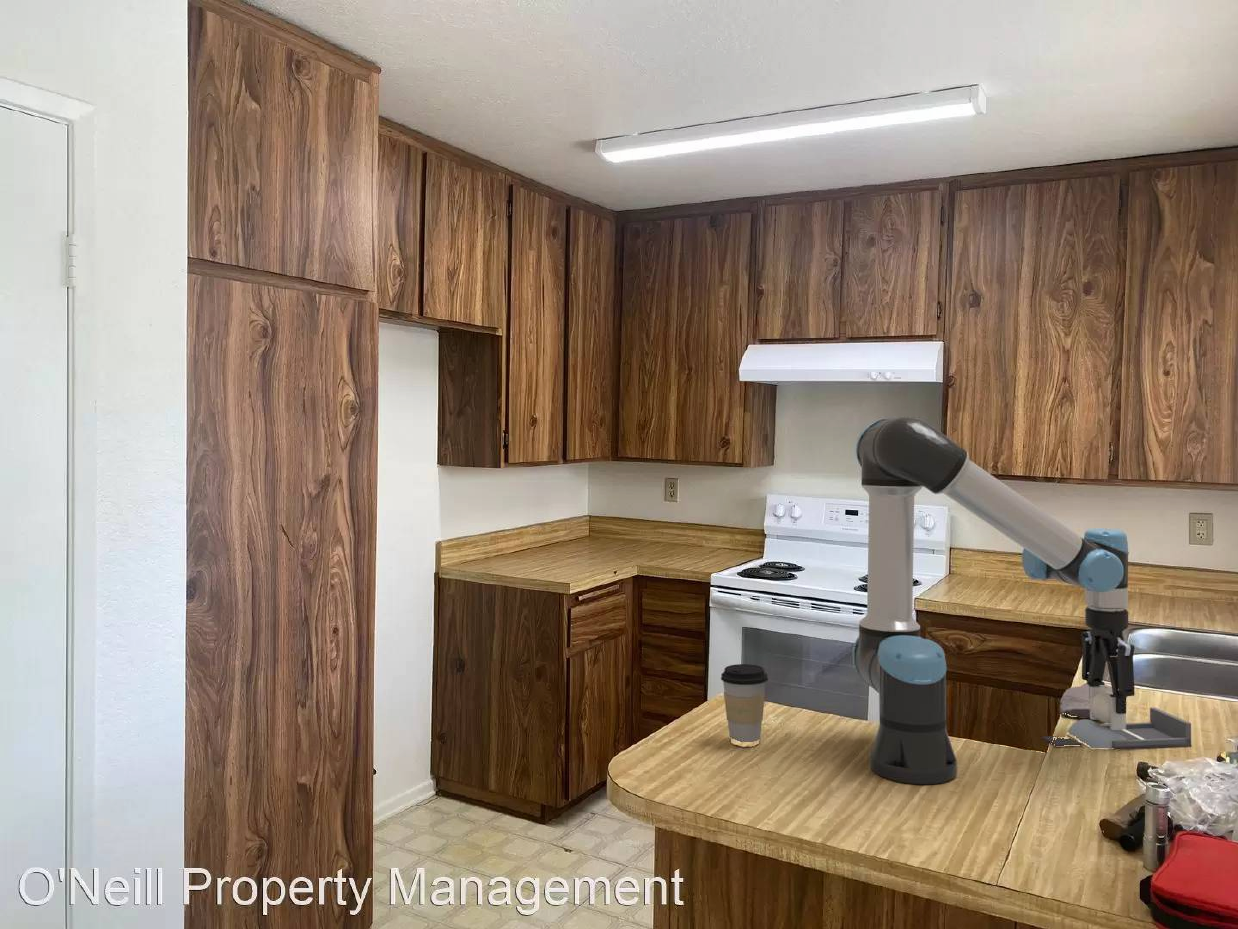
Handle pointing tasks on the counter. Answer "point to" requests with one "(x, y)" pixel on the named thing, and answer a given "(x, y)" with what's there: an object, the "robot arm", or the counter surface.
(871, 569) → the robot arm
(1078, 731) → the grey wedge
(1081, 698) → the stone
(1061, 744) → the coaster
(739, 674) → the coffee cup
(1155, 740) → the tray
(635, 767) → the counter surface
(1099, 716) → the ball
